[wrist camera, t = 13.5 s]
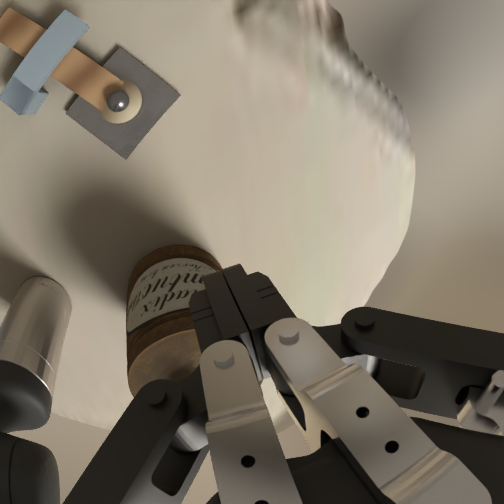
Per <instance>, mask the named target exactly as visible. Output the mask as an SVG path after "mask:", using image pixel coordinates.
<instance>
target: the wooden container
mask: <svg viewBox="0 0 504 504" xmlns="http://www.w3.org/2000/svg"><path fill="white" fill-rule="evenodd" d="M219 270H220V271H221V270H222V267H221V266H220V264H219V263H218V262H217V260H216V259H215V258H214V257H212V256H211V255H210V254H208V253H207V252H205V251H203V250H201V249H199V248H196V247H191V246H184V245H174V246H168V247H164V248H160V249H158V250H156V251H154V252H152V253H150V254H149V255H147V256H146V257H145V258H143V259H142V260H141V261H140V262H139V263H138V265H137V266H136V267H135V269H134V270H133V272H132V275H131V277H130V280H129V285H128V296H127V308H126V335H127V375H128V384H129V388H130V391H131V393H132V395H133V397H135V396H136V394H137V393H138V391H139V390H140V389H141V388H142V387H143V386H144V385H145V384H147V383H149V382H151V381H153V380H157V379H168V380H171V381H174V382H175V383H178V382H179V381H181V380H183V379H184V378H186V377H188V376H189V375H190V374H192V373H193V372H194V371H195V369H196V368H197V367H198V365H199V361H200V357H201V350H200V347H199V343H198V339H197V335H196V331H195V328H194V324H193V320H192V316H191V312H190V308H189V301H190V298H191V295H192V293H195V292H198V291H201V290H204V289H205V286H204V283H203V280H202V277H201V276H203V275H206V274H210V273H213V272H216V271H219ZM221 273H222V271H221ZM259 370H260V369H259ZM260 374H261V372H260ZM261 378H262V380H261V381H259V383H260V385H261V383H262V381H263V379H264V378H263V376H262V374H261Z"/></svg>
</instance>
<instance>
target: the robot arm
mask: <svg viewBox="0 0 504 504" xmlns="http://www.w3.org/2000/svg"><path fill="white" fill-rule="evenodd" d="M221 271H222V273H221ZM221 271H220V270H219V271H216V272H213V273H210V274H206V275H203V276H201V277H202V280H203V283H204V286H205V289H204V290H201V291H198V292H195V293H192V295H191V298H190V301H189V308H190V312H191V316H192V320H193V324H194V328H195V331H196V335H197V339H198V343H199V347H200V350H201V357H200V361H199V365H198V367H197V368H196V369H195V371H194V372H193V373H192V374H190V375H189V376H188V377H186V378H184V379H183V380H181V381H179V382H178V383H175V382H174V381H171V380H168V379H157V380H153V381H151V382H149V383H147V384H145V385H144V386H143V387H142V388H141V389H140V390H139V391H138V393H137V394H136V396H135V397H134V399H133V400H132V401H131V403H130V404H129V406H128V407H127V409H126V410H125V412H124V413H123V415H122V416H121V418H120V419H119V420H118V422H117V423H116V425H115V426H114V428H113V429H112V431H111V432H110V434H109V435H108V437H107V438H106V440H105V441H104V443H103V444H102V446H101V447H100V448H99V450H98V451H97V453H96V455H95V456H94V457H93V459H92V460H91V462H90V463H89V465H88V466H87V468H86V469H85V471H84V472H83V474H82V475H81V477H80V478H79V480H78V481H77V483H76V484H75V486H74V488H73V489H72V491H71V492H70V494H69V495H68V497H67V498H66V499H65V501H64V502H63V504H181V503H182V501H183V499H184V497H185V495H186V493H187V492H188V490H189V487H190V486H191V484H192V482H193V480H194V478H195V476H196V474H197V473H198V470H199V469H200V467H201V465H202V463H203V461H204V459H205V457H206V455H207V453H208V451H209V450H210V455H211V460H212V464H213V470H214V474H215V479H216V483H217V488H218V492H217V493H216V494H215V495H214V496H213V497H212V498H211V499H210V500H209V501H208V502H207V503H206V504H504V334H503V333H498V332H492V331H487V330H481V329H476V328H470V327H465V326H460V325H455V324H450V323H445V322H439V321H434V320H429V319H424V318H419V317H414V316H409V315H405V314H400V313H395V312H390V311H386V310H381V309H376V308H371V307H358V308H354V309H352V310H350V311H348V312H347V313H346V314H345V315H344V316H343V318H342V320H341V324H337V325H330V326H323V327H316V326H311V325H310V324H309V323H308V322H306V321H305V320H302V319H299V318H297V317H296V316H295V314H294V313H293V312H292V310H291V309H290V307H289V306H288V304H287V303H286V302H285V300H284V299H283V297H282V296H281V295H280V293H279V292H278V290H277V289H276V287H275V286H274V285H273V283H272V282H271V280H270V279H269V277H267V276H266V275H264V274H262V273H260V272H255V273H252V274H249V275H247V274H246V272H245V271H244V269H243V267H242V266H241V264H237V265H234V266H231V267H228V268H225V269H222V270H221ZM71 310H72V306H71V301H70V298H69V296H68V294H67V293H66V291H65V290H64V289H63V288H62V287H61V286H60V285H59V284H58V283H56V282H55V281H53V280H51V279H49V278H45V277H32V278H30V279H28V280H26V281H25V282H24V283H23V284H22V286H21V287H20V289H19V291H18V293H17V295H16V297H15V298H14V300H13V302H12V304H11V306H10V308H9V310H8V312H7V314H6V316H5V318H4V320H3V322H2V324H1V326H0V504H60V489H59V473H58V467H57V463H56V460H55V457H54V455H53V453H52V452H51V451H50V450H49V449H48V448H47V447H45V446H43V445H40V444H38V443H35V442H32V441H28V440H25V439H22V438H18V437H15V436H13V435H10V434H7V433H9V432H13V431H20V430H33V429H37V428H40V427H42V426H43V425H45V424H46V423H47V421H48V419H49V417H50V413H51V406H52V399H53V393H54V387H55V381H56V375H57V370H58V365H59V360H60V356H61V351H62V347H63V342H64V338H65V334H66V330H67V327H68V323H69V319H70V315H71ZM385 359H386V360H385ZM389 360H390V361H389ZM393 361H394V362H393ZM397 362H398V363H397ZM402 363H403V364H402ZM406 364H407V365H406ZM410 365H411V366H410ZM415 366H416V367H415ZM259 369H260V370H259ZM260 372H261V374H262V376H263V378H264V379H266V378H268V377H272V379H273V381H274V383H275V386H276V390H277V394H278V396H279V398H280V399H281V401H282V402H283V404H284V406H285V407H286V409H287V410H288V412H289V414H290V415H291V417H292V418H293V420H294V421H295V423H296V425H297V426H298V428H299V429H300V431H301V432H302V434H303V435H304V437H305V439H306V441H307V444H308V446H309V449H310V451H311V452H312V454H310V455H307V456H302V457H296V458H290V459H285V456H284V453H283V450H282V448H281V445H280V442H279V439H278V437H277V434H276V431H275V428H274V425H273V423H272V420H271V417H270V414H269V411H268V409H267V406H266V404H265V401H264V398H263V393H262V389H261V386H260V383H259V381H261V380H262V378H261V374H260ZM400 407H403V408H407V409H411V410H416V411H420V412H424V413H429V414H434V415H438V416H444V417H448V418H454V419H458V422H459V424H460V428H459V427H455V426H450V425H446V424H442V423H438V422H434V421H429V420H425V419H422V418H417V417H409V416H407V414H406V413H405V412H404V411H403V410H402V409H401V408H400Z"/></svg>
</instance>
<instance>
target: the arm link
mask: <svg viewBox="0 0 504 504" xmlns="http://www.w3.org/2000/svg"><path fill="white" fill-rule="evenodd" d="M45 31H46V29H44V28H43V27H41V26H39V25H38V24H36V23H35V22H33V21H31V20H30V19H28V18H26V17H25V16H23V15H21V14H20V13H18V12H16V11H14V10H13V9H11V8H8V9H7V10H6V11H5V13H4V14H3V15H2V17H1V18H0V42H1V43H3V44H4V45H6V46H7V47H9V48H10V49H12V50H13V51H15V52H16V53H18V54H19V55H21V56H22V57H24V58H25V57H26V56H27V54H28V53H29V51H30V50H31V49H32V48H33V46H34V45H35V44H36V42H37V41H38V40H39V39H40V37H41V36H42V35H43V34H44V33H45ZM50 76H52V77H53V78H55V79H56V80H58V81H59V82H60V83H62V84H63V85H65V86H66V87H68V88H69V89H70V90H72V91H73V92H75V93H76V94H78V95H79V96H80V97H82V98H83V99H85V100H86V101H88V102H89V103H90V104H92V105H93V106H95V107H96V108H97V109H98V110H99V112H100V114H101V116H102V117H103V118H104V119H105V120H107V121H108V122H111V123H124V122H127V121H129V120H131V119H132V118H134V117H135V116H136V115H137V114H138V112H139V110H140V108H141V105H142V95H141V92H140V90H139V89H138V87H137V86H136V85H135V84H133V83H132V82H130V81H126V80H120V79H119V78H117V77H116V76H114V75H113V74H112V73H110V72H109V71H107V70H106V69H105V68H103V67H102V66H100V65H99V64H97V63H96V62H94V61H93V60H91V59H90V58H89V57H87V56H86V55H84V54H83V53H81V52H80V51H78V50H77V49H75V48H74V47H72V48H71V49H70V51H69V52H68V53H67V54H66V55H65V57H64V58H63V59H62V60H61V62H60V63H59V64H58V65H57V67H56V68H55V69H54V71H53V72H52V73H51V75H50ZM117 90H122V91H124V92H126V93H127V94H128V96H129V98H130V103H129V105H128V107H127V108H126V109H125V110H124V111H121V112H113V111H111V110H110V109H109V108H108V106H107V99H108V97H109V95H110V94H111V93H112V92H114V91H117Z"/></svg>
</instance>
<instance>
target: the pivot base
mask: <svg viewBox="0 0 504 504" xmlns="http://www.w3.org/2000/svg"><path fill="white" fill-rule="evenodd" d="M103 68H105V69H106V70H107V71H109V72H110V73H112V74H113V75H114V76H116V77H117V78H119V79H120V80H126V81H130V82H132V83H133V84H135V85H136V86H137V87H138V89H139V90H140V92H141V95H142V105H141V108H140V110H139V112H138V114H137V115H136V116H135V117H134V118H132V119H131V120H129V121H127V122H124V123H111V122H108V121H107V120H105V119H104V118H103V117H102V116H101V114H100V112H99V110H98V109H97V108H96V107H95V106H93V105H92V104H90V103H89V102H88V101H86V100H85V99H83V98H82V97H80V96H78V97H77V99H76V100H75V101H74V103H73V104H72V105H71V107H70V108H69V110H68V111H67V112H66V114H67V115H68V116H70V117H71V118H72V119H73V120H75V121H76V122H77V123H79V124H80V125H81V126H83V127H84V128H85V129H87V130H88V131H89V132H90V133H92V134H93V135H94V136H96V137H97V138H98V139H100V140H101V141H102V142H104V143H105V144H106V145H107V146H109V147H110V148H111V149H113V150H114V151H115V152H117V153H118V154H119V155H121V156H122V157H123V158H125V159H127V158H128V157H129V155H130V154H131V153H132V151H133V150H134V149H135V148H136V146H137V145H138V144H139V143H140V141H141V140H142V139H143V138H144V136H145V135H146V134H147V133H148V132H149V130H150V129H151V128H152V127H153V126H154V125H155V123H156V122H157V121H158V120H159V119H160V118H161V116H162V115H163V114H164V113H165V112H166V111H167V110H168V108H169V107H170V106H171V105H172V104H173V103H174V102H175V101H176V100H177V99H178V98H179V96H180V94H179V93H178V92H176V91H175V90H174V89H173V88H172V87H170V86H169V85H168V84H167V83H165V82H164V81H163V80H162V79H161V78H159V77H158V76H157V75H156V74H154V73H153V72H152V71H151V70H149V69H148V68H147V67H145V66H144V65H143V64H142V63H140V62H139V61H138V60H136V59H135V58H134V57H133V56H131V55H130V54H129V53H127V52H126V51H125V50H123V49H122V48H121V47H120V48H119V49H118V50H117V51H116V52H115V53H114V54H113V55H112V56H111V58H110V59H109V60H108V61H107V62H106V63H105V64H104V65H103ZM129 103H130V98H129V96H128V94H127V93H126V92H124V91H122V90H117V91H114V92H112V93H111V94H110V95H109V97H108V99H107V106H108V108H109V109H110V110H111V111H113V112H121V111H124V110H125V109H126V108H127V107H128V105H129Z"/></svg>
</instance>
